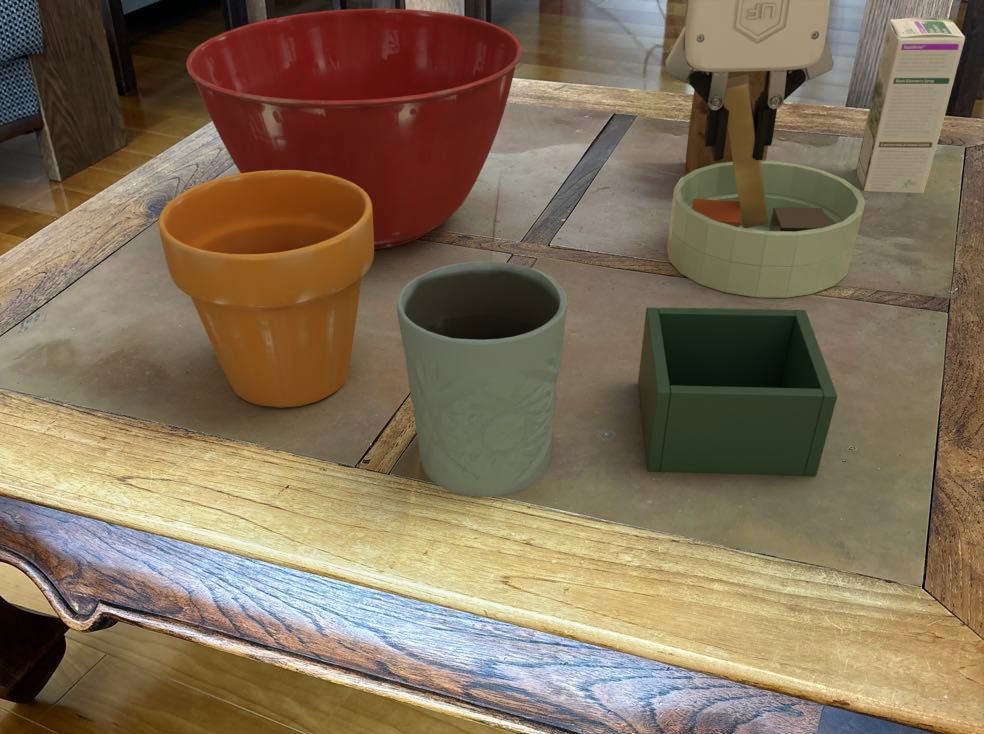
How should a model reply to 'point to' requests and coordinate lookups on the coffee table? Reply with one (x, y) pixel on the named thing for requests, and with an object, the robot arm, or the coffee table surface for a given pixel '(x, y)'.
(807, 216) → the walnut block
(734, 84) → the stirring stick
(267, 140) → the mixing bowl
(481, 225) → the coffee table surface
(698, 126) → the block
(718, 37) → the robot arm
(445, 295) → the grey green cup
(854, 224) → the bowl
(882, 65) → the syrup box
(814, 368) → the box
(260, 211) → the flower pot
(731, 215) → the terracotta block
